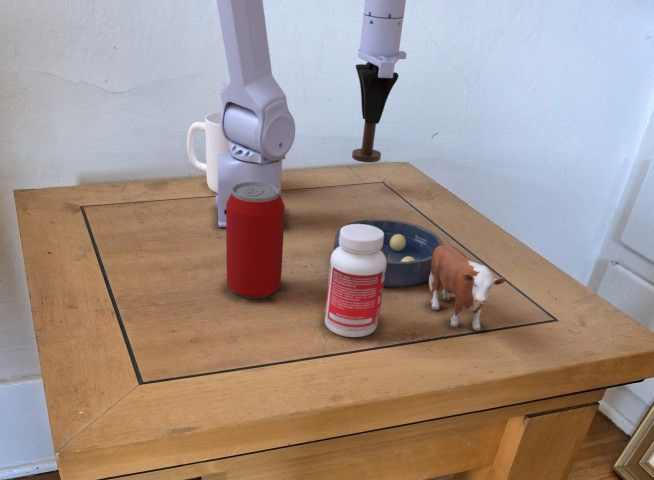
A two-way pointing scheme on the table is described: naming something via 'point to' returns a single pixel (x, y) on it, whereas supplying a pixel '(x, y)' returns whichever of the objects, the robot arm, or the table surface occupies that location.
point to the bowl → (404, 251)
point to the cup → (209, 147)
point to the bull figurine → (460, 282)
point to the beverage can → (254, 239)
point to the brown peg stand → (367, 146)
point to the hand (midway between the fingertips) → (370, 120)
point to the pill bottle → (356, 281)
